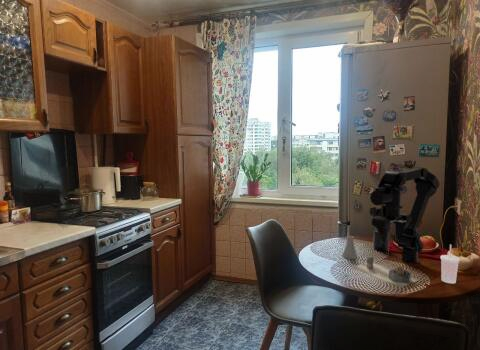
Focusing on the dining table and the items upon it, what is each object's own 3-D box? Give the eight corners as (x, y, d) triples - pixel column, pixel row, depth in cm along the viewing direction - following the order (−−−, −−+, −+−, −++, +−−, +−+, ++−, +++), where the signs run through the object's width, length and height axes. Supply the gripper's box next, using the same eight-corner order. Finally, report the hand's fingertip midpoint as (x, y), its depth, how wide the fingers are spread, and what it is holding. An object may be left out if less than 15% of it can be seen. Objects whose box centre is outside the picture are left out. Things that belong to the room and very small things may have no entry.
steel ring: (392, 273, 130) (392, 267, 130) (411, 278, 126) (412, 271, 125) (387, 279, 124) (387, 273, 124) (407, 284, 120) (408, 277, 120)
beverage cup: (451, 285, 121) (453, 248, 120) (435, 279, 127) (437, 243, 126) (462, 282, 124) (464, 245, 122) (446, 276, 129) (448, 241, 128)
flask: (359, 262, 145) (360, 239, 144) (342, 260, 147) (342, 238, 146) (357, 256, 152) (357, 234, 151) (340, 255, 154) (341, 234, 153)
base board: (369, 263, 143) (370, 250, 142) (420, 282, 124) (421, 266, 124) (350, 269, 137) (351, 255, 136) (401, 289, 118) (401, 273, 118)
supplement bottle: (389, 249, 162) (390, 224, 161) (387, 253, 156) (388, 228, 155) (374, 246, 166) (375, 223, 165) (371, 250, 160) (372, 226, 159)
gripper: (388, 197, 146) (387, 232, 148) (360, 202, 136) (359, 239, 138) (413, 201, 137) (411, 238, 138) (384, 206, 127) (383, 246, 129)
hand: (390, 240), depth 136 cm, fingers open, 9 cm apart
